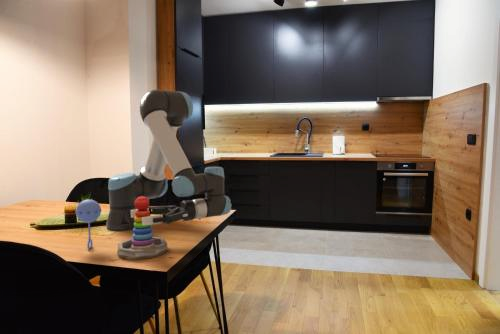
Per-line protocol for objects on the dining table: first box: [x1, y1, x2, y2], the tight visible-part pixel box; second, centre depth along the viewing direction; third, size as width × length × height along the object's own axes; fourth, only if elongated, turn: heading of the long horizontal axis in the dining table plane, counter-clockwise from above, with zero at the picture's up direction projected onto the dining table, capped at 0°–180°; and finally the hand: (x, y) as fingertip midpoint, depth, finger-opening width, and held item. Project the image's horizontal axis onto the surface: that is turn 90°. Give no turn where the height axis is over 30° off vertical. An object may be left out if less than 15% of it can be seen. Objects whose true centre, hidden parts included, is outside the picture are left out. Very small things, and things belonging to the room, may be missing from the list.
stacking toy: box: [131, 196, 155, 250], centre depth 130 cm, size 8×8×19 cm
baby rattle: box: [75, 198, 102, 250], centre depth 135 cm, size 9×9×18 cm
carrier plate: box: [116, 236, 168, 261], centre depth 131 cm, size 17×17×3 cm
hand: (136, 217), depth 129 cm, fingers open, 13 cm apart
